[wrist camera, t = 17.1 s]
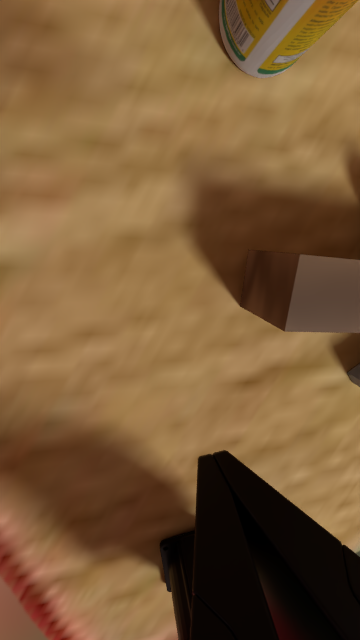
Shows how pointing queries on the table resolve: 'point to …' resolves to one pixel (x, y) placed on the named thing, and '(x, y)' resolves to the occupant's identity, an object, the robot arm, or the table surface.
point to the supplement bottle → (275, 31)
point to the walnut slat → (303, 291)
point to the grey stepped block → (355, 375)
